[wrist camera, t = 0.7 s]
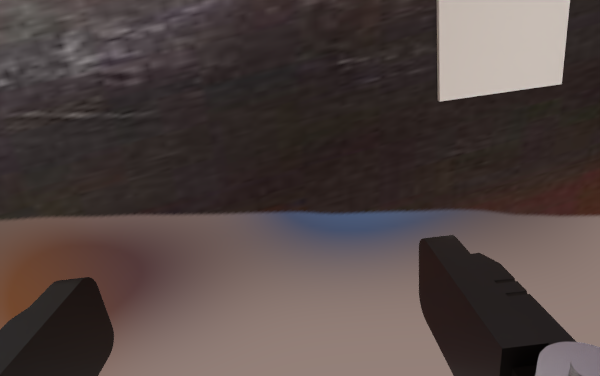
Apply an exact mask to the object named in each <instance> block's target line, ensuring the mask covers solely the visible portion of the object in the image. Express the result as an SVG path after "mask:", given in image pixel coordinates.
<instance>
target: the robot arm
mask: <svg viewBox="0 0 600 376" xmlns="http://www.w3.org/2000/svg"><path fill="white" fill-rule="evenodd" d="M419 297H420V303H421V308H422V312H423V315H424V317H425V320H426V322H427V324H428V326H429V328H430V330H431V331H432V334H433V336H434V337H435V339H436V341H437V343H438V345H439V347H440V349H441V351H442V353H443V355H444V357H445V359H446V361H447V363H448V365H449V367H450V369H451V371H452V373H453V375H454V376H600V347H597V346H594V345H590V344H585V343H580V342H576V341H575V340H574V339H573V338H572V337H571V336H570V335H569V334H568V333H567V332H566V331H565V330H564V329H563V328H562V327H561V326H560V325H559V324H558V323H557V322H556V321H555V319H554V318H553V317H552V316H551V315H550V314H549V313H548V312H547V311H546V310H545V309H544V308H543V307H542V306H541V305H540V304H539V303H538V302H537V301H536V300H535V299H534V298H533V297H532V296H531V295H530V294H527V291H526V290H525V289H524V288H523V287H522V286H521V285H520V284H519V283H518V282H517V281H516V282H515V279H514V277H513V276H512V275H511V274H510V273H509V272H508V271H507V270H506V269H505V268H504V267H503V266H502V265H501V264H500V263H498V262H495V261H494V260H492V259H490V258H488V257H486V256H485V255H482V254H480V253H476V254H470V253H469V252H468V250H466V248H465V247H464V246H463V245H462V244H461V243H460V241H459V240H458V239H457V238H456V237H455V236H453V235H449V236H441V237H432V238H424V239H421V241H420V243H419ZM113 340H114V332H113V328H112V325H111V322H110V319H109V316H108V313H107V311H106V308H105V305H104V302H103V300H102V297H101V294H100V291H99V289H98V286H97V284H96V282H95V281H94V280H93V279H92V278H89V277H86V278H78V279H69V280H60V281H56V282H54V283H53V284H52V285H50V286H49V288H47V290H46V291H45V292H44V293H43V294H42V295H41V296H40V297H39V298H38V299H37V300H36V301H35V302H34V303H33V304H32V305H31V306H30V307H29V308H28V309H26V310H24V311H23V312H21V313H20V314H18V315H17V316H15V317H14V318H12V319H11V320H10V321H8V322H7V324H6V325H4V327H2V328H1V330H0V376H98V375H99V373H100V371H101V370H102V368H103V366H104V364H105V363H106V361H107V359H108V357H109V355H110V353H111V351H112V347H113Z"/></svg>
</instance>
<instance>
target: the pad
mask: <svg viewBox="0 0 600 376" xmlns="http://www.w3.org/2000/svg"><path fill="white" fill-rule="evenodd" d="M569 6H570V0H437V87H438V101H447V100H454V99H461V98H468V97H475V96H482V95H489V94H496V93H503V92H510V91H517V90H524V89H531V88H538V87H545V86H552V85H559V84H562V76H563V66H564V56H565V46H566V36H567V26H568V16H569Z"/></svg>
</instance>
